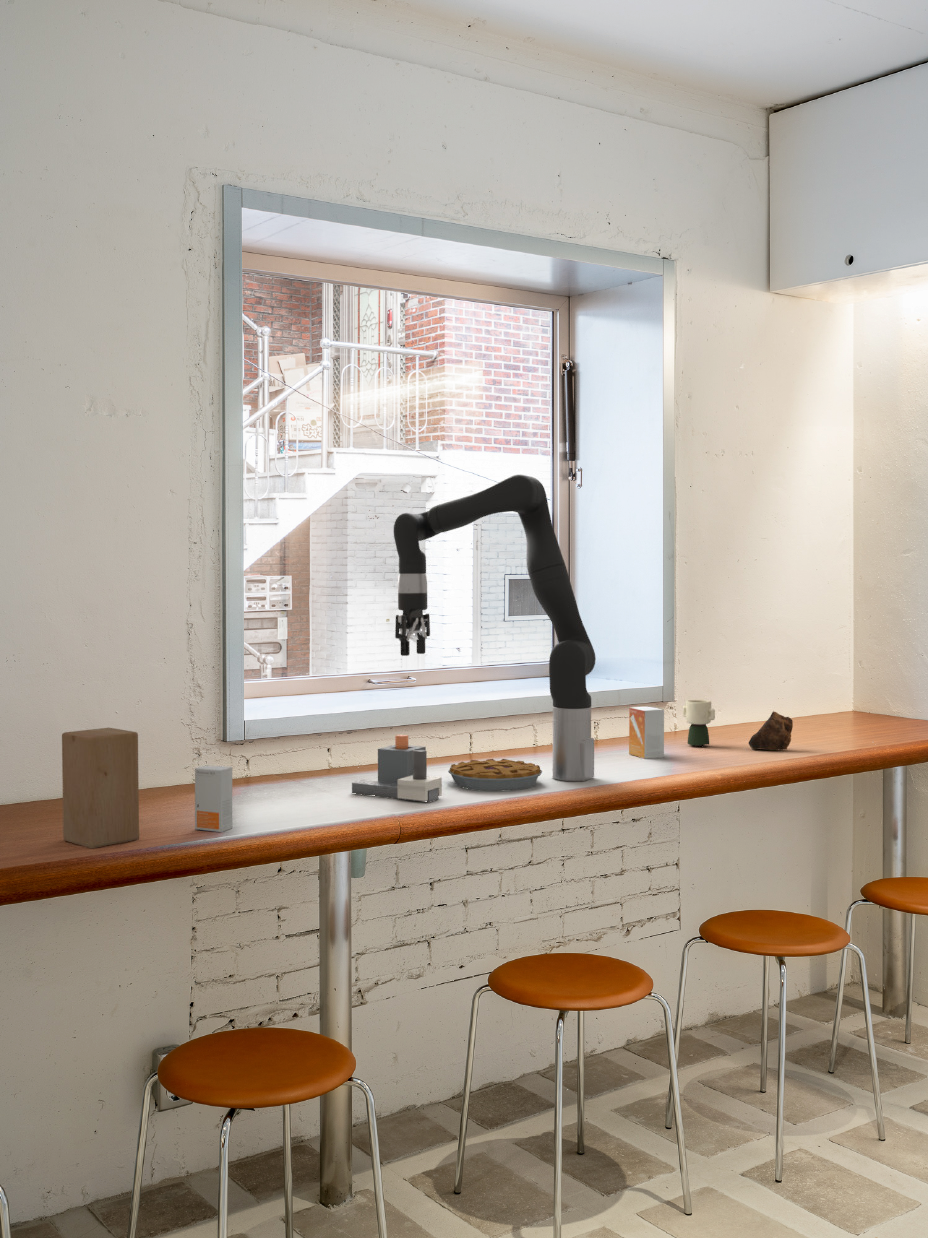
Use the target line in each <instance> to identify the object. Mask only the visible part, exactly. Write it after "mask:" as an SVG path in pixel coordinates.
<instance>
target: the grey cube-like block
mask: <svg viewBox="0 0 928 1238" xmlns="http://www.w3.org/2000/svg"><path fill="white" fill-rule="evenodd" d="M426 749H427V747H426V746H423V745H421V746H420V745H411V744H410V745H409V744H408V749H405V750H404V749H395V744H393V745H392V744H391V745H388V746H384V747H379V748H377V782H386V783H395V784H398V781H397V780H398V779H401V778H405V777H408V776H411V775H413V751H414V750H426ZM426 751H427V750H426Z"/></svg>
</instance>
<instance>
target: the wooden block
mask: <svg viewBox="0 0 928 1238" xmlns="http://www.w3.org/2000/svg"><path fill="white" fill-rule="evenodd" d="M138 733H139V732H137V731H132V730H127V729H120V728H113V727H102V728H93V729H84V730H74V731H65V732H62V735H61V757H62V758H61V765H62V770H61V772H62V778H61V779H62V830H63V831H62V834H63V835H62V836H63V837H62V838H63V841H66V842H69V843H72V844H75V845H79V846H81V847H86V848H88V849H97V848H101V847H108V846H111V845H116V844H117V845H118V844H122V843H129V842H131V841H137V840H139V839H140V808H139V807H140V804H139V801H140V799H139V797H140V795H139V792H140V791H139V783H140V782H139V734H138Z"/></svg>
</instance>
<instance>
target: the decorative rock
mask: <svg viewBox="0 0 928 1238" xmlns="http://www.w3.org/2000/svg"><path fill="white" fill-rule="evenodd" d="M793 723H794V721H793V719H792V718H790V716H784V715H782V714H780V713H778V712H776V711H774V710H773V711H772V712H771V715H770V716H769V717H768V718H767V720H766V721H764V723H763V725H762V726H761V727H760V729H758V731H757V732H756V733H754V734H753V735H752V736H751V737H750V739H749V741H748V746H749V747H750V748H751V749H752V748H753V749H752V750H755V749H756V750H759V749H761V750H766V751H769V750H770V751H778V749H779V751H781V750H783V751H784V750H788V747H789V746H790V744H791V742H792V731H793V727H794V726H793ZM757 748H759V749H757ZM775 749H777V750H775Z"/></svg>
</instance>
